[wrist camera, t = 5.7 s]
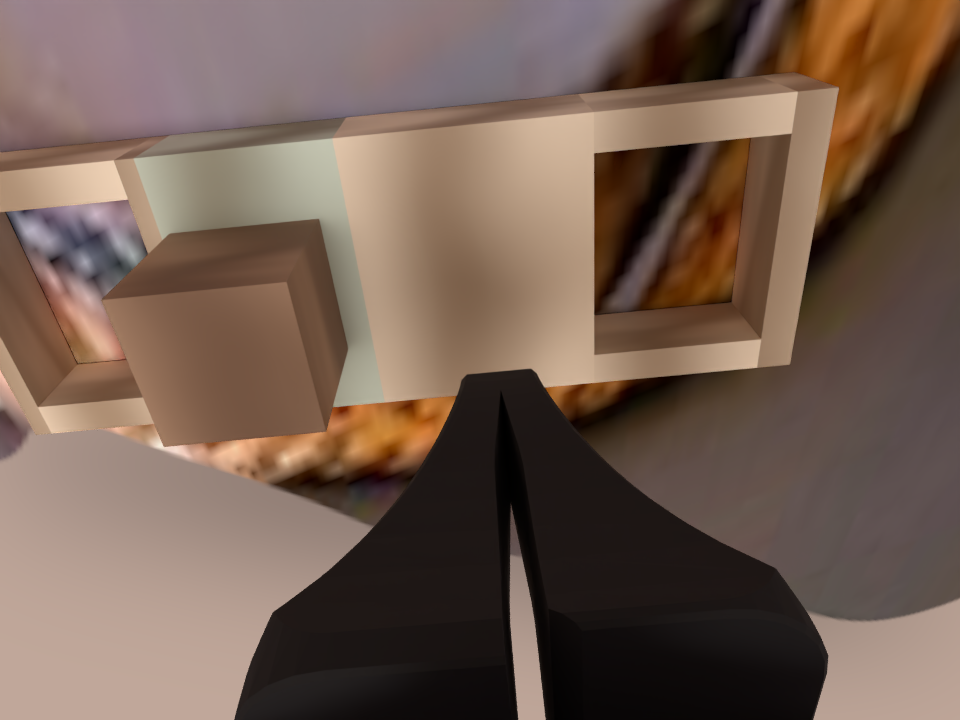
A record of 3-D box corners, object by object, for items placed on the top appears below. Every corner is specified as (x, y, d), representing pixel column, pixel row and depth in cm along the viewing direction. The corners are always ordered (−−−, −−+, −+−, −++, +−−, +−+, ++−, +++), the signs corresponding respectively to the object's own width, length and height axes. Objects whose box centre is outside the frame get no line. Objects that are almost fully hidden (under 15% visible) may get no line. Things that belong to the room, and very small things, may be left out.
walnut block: (319, 218, 18) (286, 281, 14) (348, 349, 20) (325, 431, 16) (169, 233, 18) (101, 300, 14) (214, 362, 20) (164, 446, 16)
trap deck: (794, 72, 18) (839, 87, 16) (758, 326, 23) (789, 364, 20) (-40, 156, 19) (-103, 182, 17) (74, 390, 23) (35, 435, 21)
